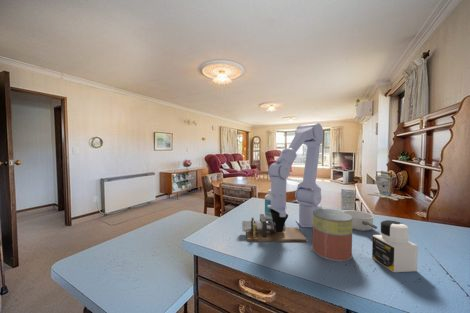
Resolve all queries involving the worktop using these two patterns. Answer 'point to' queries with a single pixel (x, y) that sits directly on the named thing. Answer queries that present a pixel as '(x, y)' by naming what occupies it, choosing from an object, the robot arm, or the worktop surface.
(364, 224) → the saucepan
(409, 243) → the medicine bottle
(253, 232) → the brass index gate
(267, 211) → the pill bottle
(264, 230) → the iron collar
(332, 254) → the canned food
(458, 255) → the worktop surface
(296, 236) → the walnut board
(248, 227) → the air tube
